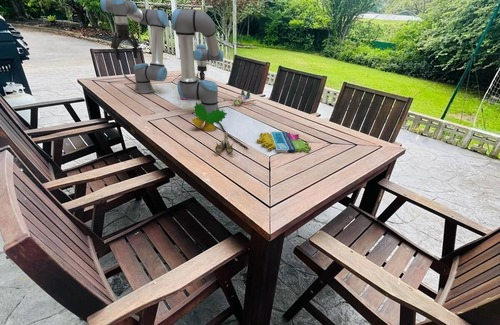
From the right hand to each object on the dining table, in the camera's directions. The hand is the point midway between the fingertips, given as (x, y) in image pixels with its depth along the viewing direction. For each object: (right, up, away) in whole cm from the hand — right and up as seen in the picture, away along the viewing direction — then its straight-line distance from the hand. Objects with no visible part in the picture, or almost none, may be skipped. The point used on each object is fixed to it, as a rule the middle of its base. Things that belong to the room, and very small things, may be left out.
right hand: (202, 93), depth 220 cm
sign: (+59, -47, -67) cm, 101 cm away
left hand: (-44, +13, -41) cm, 62 cm away
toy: (+33, -7, +1) cm, 33 cm away
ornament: (+14, -37, -55) cm, 68 cm away
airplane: (-16, +17, +37) cm, 44 cm away
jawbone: (+26, -52, -81) cm, 100 cm away
